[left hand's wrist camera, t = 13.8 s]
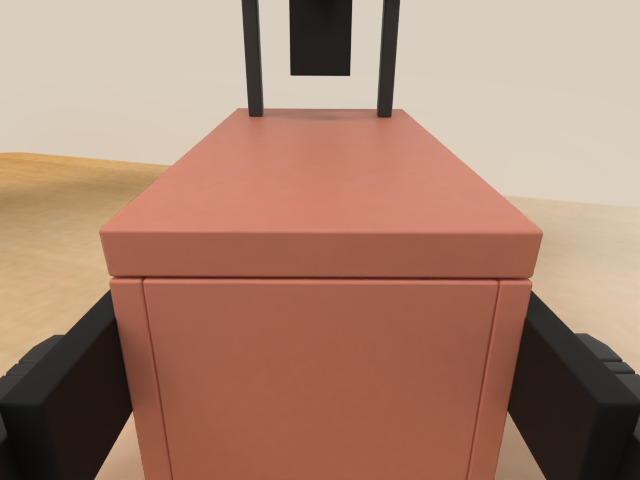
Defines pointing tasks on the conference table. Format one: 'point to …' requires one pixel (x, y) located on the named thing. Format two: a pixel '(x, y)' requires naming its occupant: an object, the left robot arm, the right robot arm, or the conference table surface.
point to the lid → (320, 196)
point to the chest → (319, 375)
